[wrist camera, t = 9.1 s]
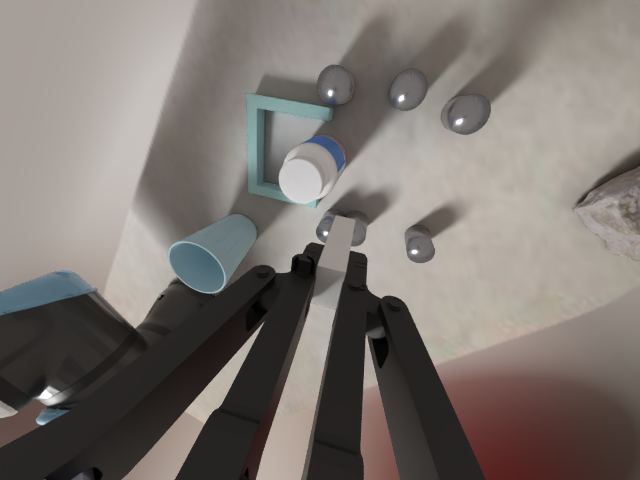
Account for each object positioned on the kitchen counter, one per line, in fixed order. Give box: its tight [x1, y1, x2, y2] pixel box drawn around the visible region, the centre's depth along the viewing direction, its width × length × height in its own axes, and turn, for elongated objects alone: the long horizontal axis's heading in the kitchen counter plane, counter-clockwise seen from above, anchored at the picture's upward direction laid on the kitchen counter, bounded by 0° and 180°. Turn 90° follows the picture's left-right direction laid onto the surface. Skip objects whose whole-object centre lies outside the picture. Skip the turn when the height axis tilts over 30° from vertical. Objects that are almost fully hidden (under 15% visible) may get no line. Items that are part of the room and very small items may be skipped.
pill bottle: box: [279, 135, 346, 204], centre depth 24 cm, size 6×5×10 cm
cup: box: [168, 214, 257, 293], centre depth 32 cm, size 8×8×10 cm
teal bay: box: [246, 93, 334, 208], centre depth 28 cm, size 9×11×2 cm
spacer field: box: [316, 65, 491, 263], centre depth 26 cm, size 16×18×4 cm
